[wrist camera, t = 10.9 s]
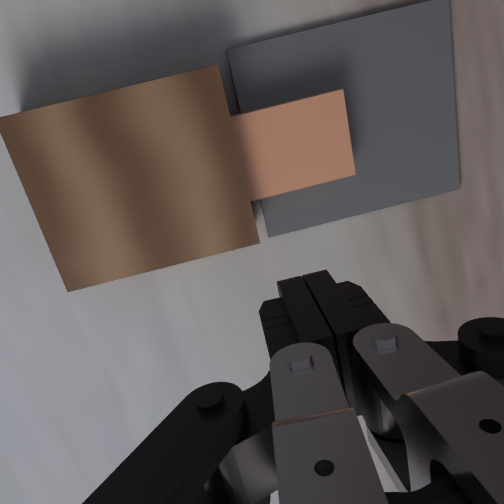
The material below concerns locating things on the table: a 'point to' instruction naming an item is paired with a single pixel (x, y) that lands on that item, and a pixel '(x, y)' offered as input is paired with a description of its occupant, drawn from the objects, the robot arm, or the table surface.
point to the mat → (364, 108)
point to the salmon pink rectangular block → (294, 144)
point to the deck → (134, 177)
